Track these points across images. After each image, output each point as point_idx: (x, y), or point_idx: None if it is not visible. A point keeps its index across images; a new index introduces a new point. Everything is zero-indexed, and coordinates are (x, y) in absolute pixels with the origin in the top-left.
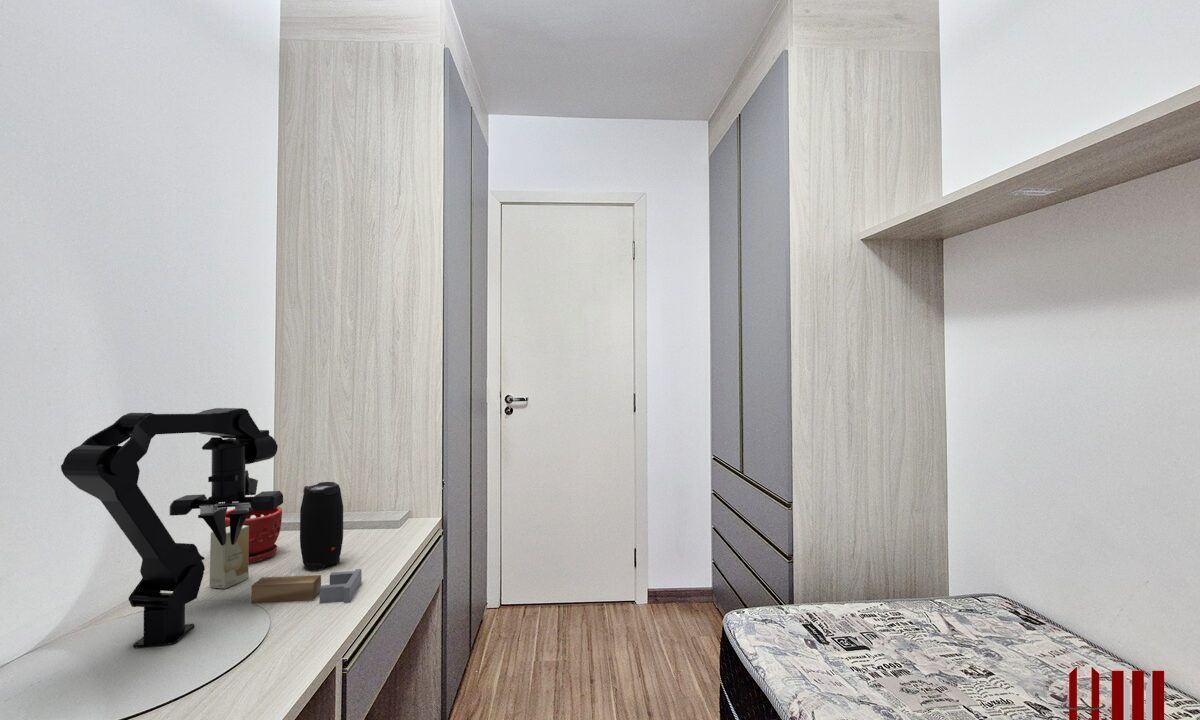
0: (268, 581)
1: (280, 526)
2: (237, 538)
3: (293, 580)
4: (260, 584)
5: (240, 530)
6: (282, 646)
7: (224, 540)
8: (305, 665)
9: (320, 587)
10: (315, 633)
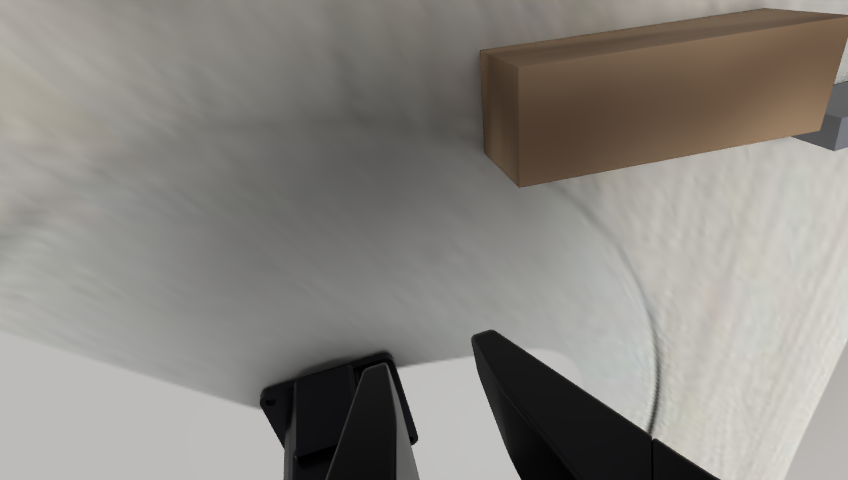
0: (589, 129)
1: None
2: (524, 354)
3: (720, 107)
4: (563, 173)
5: (603, 412)
6: (717, 385)
7: (401, 416)
8: (782, 429)
9: (838, 142)
10: (786, 323)
